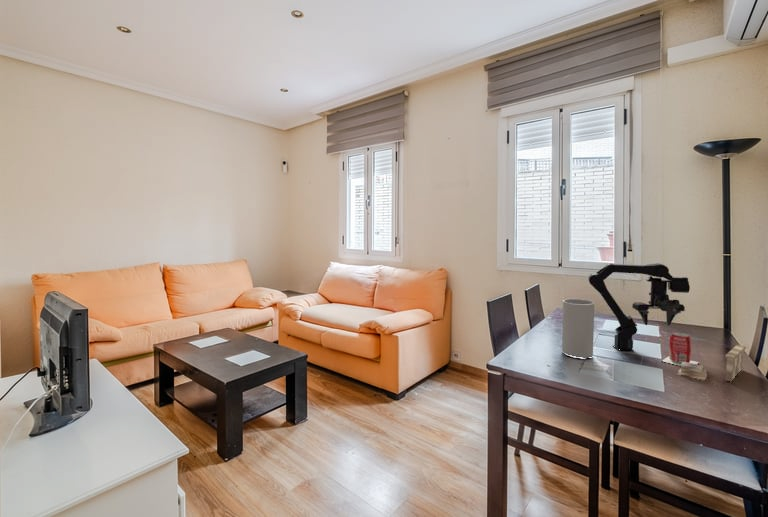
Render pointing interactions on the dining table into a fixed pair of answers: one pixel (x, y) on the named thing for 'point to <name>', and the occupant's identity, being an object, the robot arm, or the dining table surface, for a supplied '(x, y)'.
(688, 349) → the soda can
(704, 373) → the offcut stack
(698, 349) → the dining table surface
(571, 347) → the cylinder vase
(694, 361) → the white mat
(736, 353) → the rack board
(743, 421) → the dining table surface
